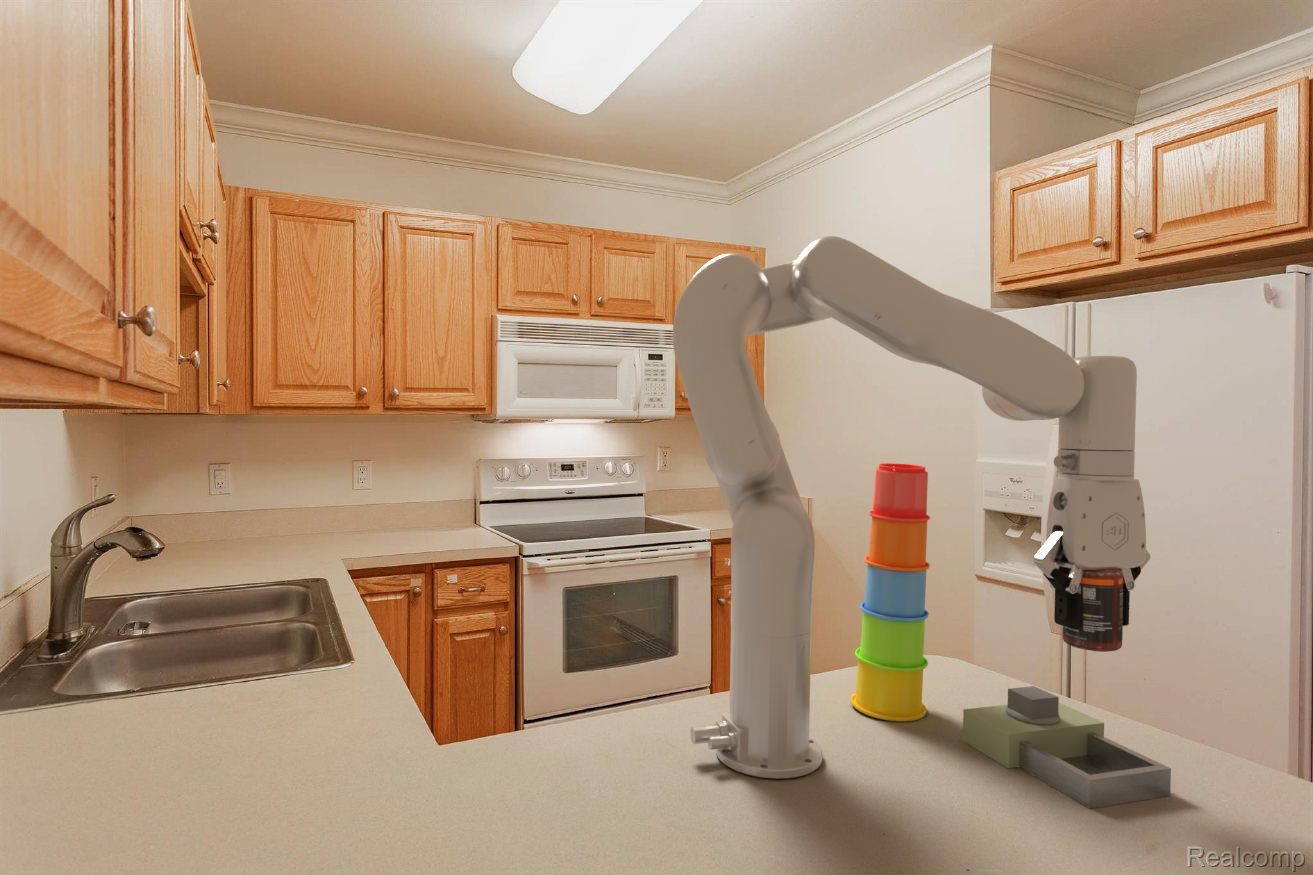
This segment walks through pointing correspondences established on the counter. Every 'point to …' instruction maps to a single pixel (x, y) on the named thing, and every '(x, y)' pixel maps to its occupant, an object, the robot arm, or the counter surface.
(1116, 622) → the supplement bottle
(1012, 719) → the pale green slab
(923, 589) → the stacking cups
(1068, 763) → the grey square tray
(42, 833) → the counter surface
